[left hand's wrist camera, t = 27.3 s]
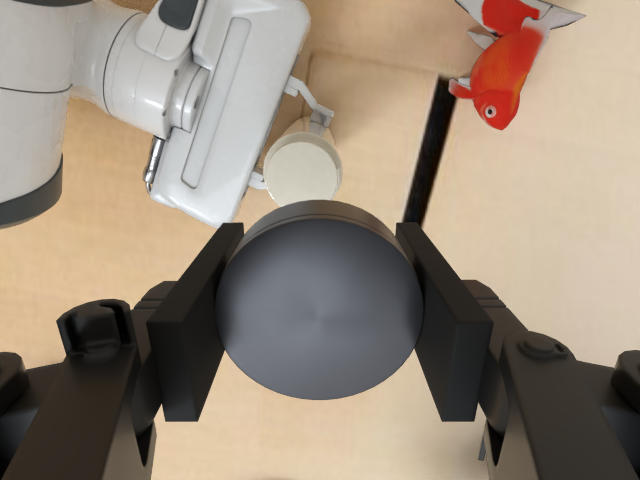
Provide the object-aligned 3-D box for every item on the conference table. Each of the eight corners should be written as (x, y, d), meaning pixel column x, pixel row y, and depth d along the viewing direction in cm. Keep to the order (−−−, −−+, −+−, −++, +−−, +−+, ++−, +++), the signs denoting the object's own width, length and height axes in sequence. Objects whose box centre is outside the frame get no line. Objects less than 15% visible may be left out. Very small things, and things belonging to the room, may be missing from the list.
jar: (289, 167, 40) (267, 224, 23) (282, 119, 38) (251, 140, 21) (335, 161, 40) (348, 214, 22) (329, 113, 38) (339, 129, 21)
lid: (446, 277, 12) (469, 309, 10) (327, 385, 13) (329, 430, 12) (307, 158, 10) (305, 170, 9) (194, 294, 12) (172, 328, 10)
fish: (394, 112, 34) (487, 68, 25) (426, -46, 35) (525, -142, 26) (476, 149, 38) (579, 124, 29) (501, 9, 39) (608, -56, 30)
